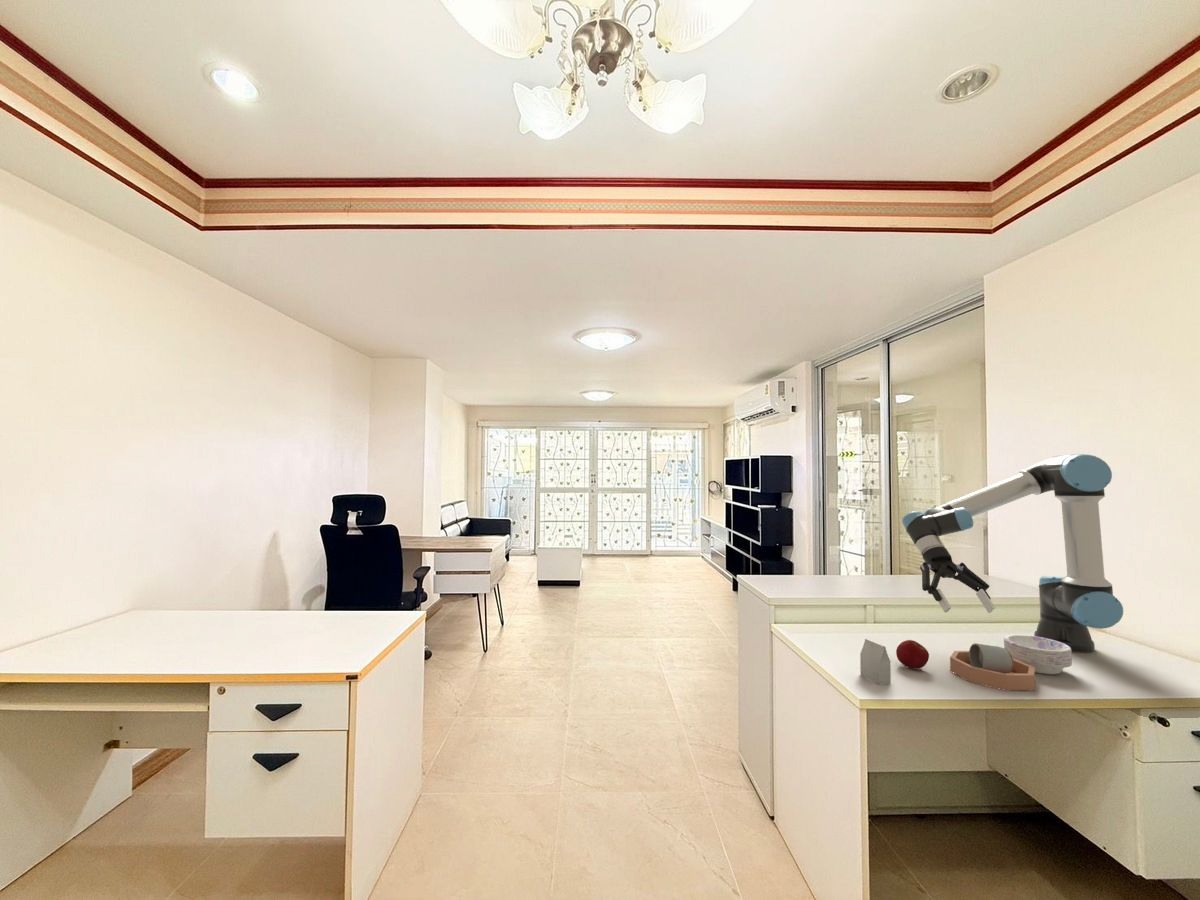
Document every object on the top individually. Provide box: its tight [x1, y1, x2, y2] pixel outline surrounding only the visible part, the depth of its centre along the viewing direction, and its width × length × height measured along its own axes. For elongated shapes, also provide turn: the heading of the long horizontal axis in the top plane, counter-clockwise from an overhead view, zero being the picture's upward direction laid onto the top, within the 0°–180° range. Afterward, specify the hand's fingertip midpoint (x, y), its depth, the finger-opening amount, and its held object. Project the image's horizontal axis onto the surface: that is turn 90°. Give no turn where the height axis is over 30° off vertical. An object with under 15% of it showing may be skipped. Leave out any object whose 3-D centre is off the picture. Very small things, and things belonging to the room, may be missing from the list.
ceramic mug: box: [968, 643, 1014, 673], centre depth 143 cm, size 11×8×8 cm
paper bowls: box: [1003, 634, 1073, 675], centre depth 148 cm, size 15×15×8 cm
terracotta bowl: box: [949, 650, 1036, 691], centre depth 141 cm, size 18×18×4 cm
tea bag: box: [859, 638, 892, 686], centre depth 138 cm, size 4×7×10 cm, turn 15°
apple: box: [895, 639, 930, 670], centre depth 146 cm, size 8×8×8 cm
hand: (970, 610), depth 149 cm, fingers open, 13 cm apart
